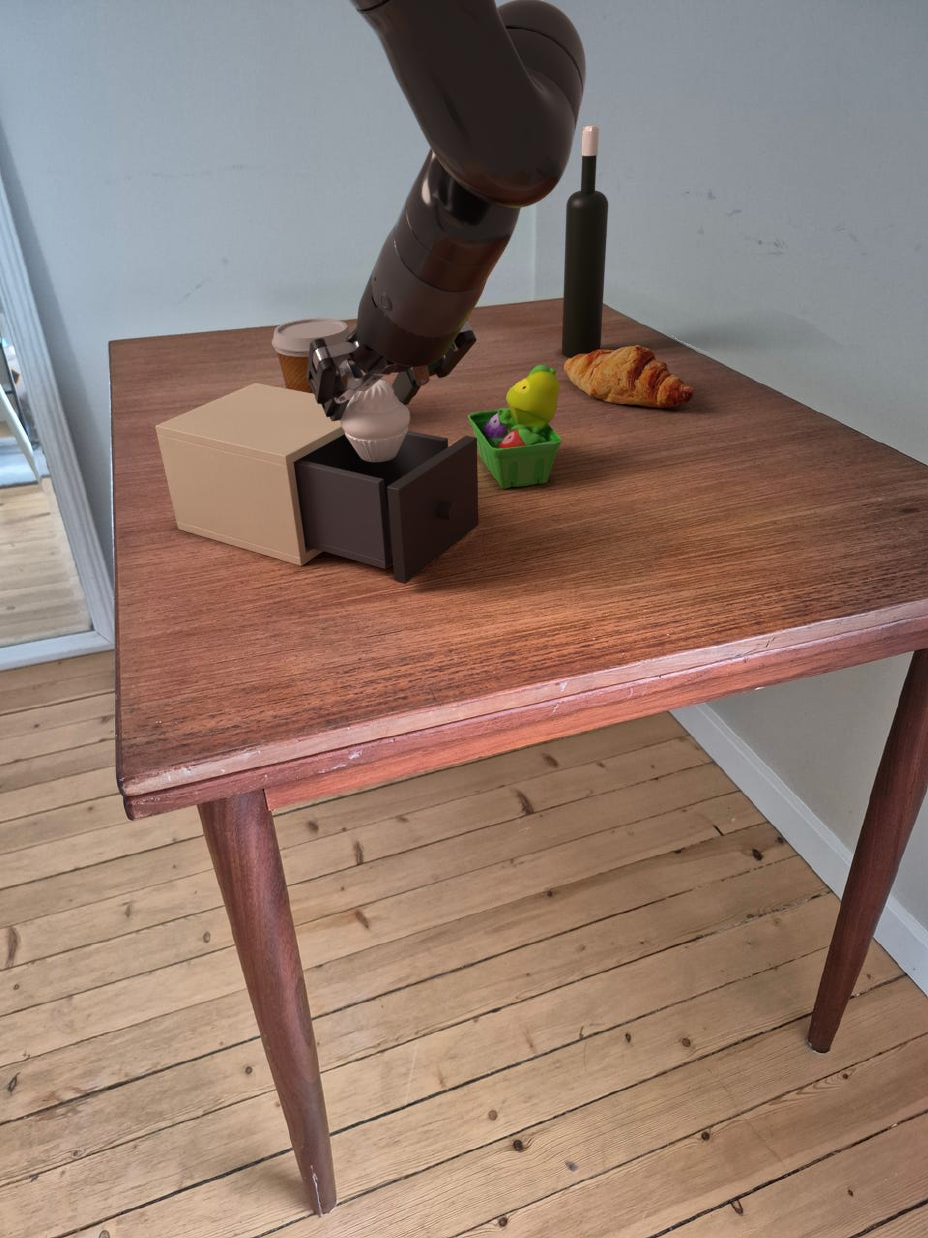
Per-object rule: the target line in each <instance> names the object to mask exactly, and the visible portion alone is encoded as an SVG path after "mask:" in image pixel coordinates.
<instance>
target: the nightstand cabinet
mask: <svg viewBox="0 0 928 1238" xmlns="http://www.w3.org/2000/svg"><path fill="white" fill-rule="evenodd" d="M348 404H349V403H348ZM154 427H155V428H154V429H155V431H156V436H157V440H158V445H159V451H160V455H161V459H162V464H163V468H164V472H165V478H166V482H167V486H168V490H169V494H170V499H171V503H172V508H173V512H174V517H175V522H176V525H177V530H180V531H183V532H186V533H190V534H193V535H196V536H200V537H203V538H207V539H209V540H213V541H217V542H220V543H223V544H227V545H230V546H233V547H236V548H240V549H243V550H246V551H250V552H253V553H257V554H260V555H262V556H267V557H270V558H273V559H276V560H278V561H279V560H280V561H282V562H287V563H288V564H289V563H290V564H293V565H296V566H300V567H302V566H304V565H305V564H307V563H308V562H310V561H311V560H312V559H314V558H316V557H317V556H318V555H320V554H322V553H323V552H324V551H321V550H318V549H314V548H311V547H307V546H305V542H304V535H303V527H302V520H301V513H300V506H299V499H298V491H297V484H296V477H295V470H294V463H293V462H295V461H296V460H298V459H300V458H302V457H304V456H306V455H307V454H309V453H311V452H313V451H315V450H317V449H318V448H320V447H322V446H324V445H326V444H328V443H329V442H331V441H333V440H335V439H337V438H339V437H340V436H342V435H344V434H345V431H344V429H343V428H342V426H341V423H340V420H338V421H333V422H332V421H331V419H330V417H326V415H325V412H324V410H323V407H322V405H321V404H318V403H317V401H316V399H315V395H314V394H312V393H306V392H301V391H296V390H291V389H287V388H286V387H280V386H273V385H270V384H263V383H259V382H254V383H252V384H249V385H247V386H245V387H243V388H240V389H237V390H235V391H233V392H230V393H228V394H226V395H223V396H221V397H219V398H216V399H214V400H212V401H209V402H207V403H205V404H203V405H200V406H198V407H196V408H193V409H192V410H189V411H186V412H184V413H182V414H178V415H177V416H175V417H172V418H170V419H168V420H165V421H163V422H161V423H158V424H155V426H154Z"/></svg>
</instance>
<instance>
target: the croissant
mask: <svg viewBox="0 0 928 1238" xmlns="http://www.w3.org/2000/svg"><path fill="white" fill-rule="evenodd" d="M563 370H564V373H565V374H566V375H567V377H568V378H569V381H570V382H571V383H572V384H573V385H574V386H576V387H577V388H578V389H579V390H581V391H582V392H584V393H585V394H586V395H588V396H589V397H590V398H595V399H597V400H602V401H604V402H607V403H610V404H616V405H617V404H618V405H630V406H632V405H633V406H634V405H638V406H642V407H649V408H661V409H663V408H669V409H670V408H675V407H678V406H680V405H682V404H687V403H689V402H690V401H691V400H692V399H693V397H694V391H695V388H693V387H692V385H687V384H684V380H682V379H681V378H680V377H678V376H677V375H675V374H673V373H671V372H670V371H669V369H668V364H667V363H666V362H663V361H660V360H657V359H656V355H655V353H654V352H653V351H652V350H651V349H650V348H648V347H644V346H641V345H639V344H636V345H629V346H621V347H620V348H618V349H613V350H612V349H611V350H610V349H600V350H596V351H593V352H591V353H589V354H579V355H576V356H574V357H573V358H570V357H568V358H567V360H566V361H565V362H564V365H563Z"/></svg>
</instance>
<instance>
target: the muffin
mask: <svg viewBox="0 0 928 1238" xmlns="http://www.w3.org/2000/svg"><path fill="white" fill-rule="evenodd" d="M410 421H411V414H410V410H409V408H408V407H407V405H404V404H402V403H401V402H400V401H399V400H398V398H397V396H395V394H394V389H393V387H392V384H391V383H389V382H388V381H387V380H384V379H380V380H379V381H377V382H376V383H375V384H374V385H373V386H372V387H371V388H369V389H368V390H367V391H365V392H364V391H357V392H356V393H355V394H354V395H353V396H352V397H351V398H350V399H349V404H348V405H347V407H346V409H345V411H344V414H343V416H342V418H341V420H340V423H341V426H342V428H343V429H344V431H345V435H346V437H347V438H348V440H349V441H350V443H351V444H352V446H353V447H354V449H355V450H356V452H357V453H358V455H359V456H360V458H361V459H363V460H366V461H369V462H383V461H388V460H391V459H393V458H394V457H396V455H397V453H398V451H399V449H400V446H401V444H402V442H403V440H404V438H405V436H406V433H407V431H409V430H408V429H409V427H408V426H409V424H410Z"/></svg>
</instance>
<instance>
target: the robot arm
mask: <svg viewBox="0 0 928 1238" xmlns="http://www.w3.org/2000/svg"><path fill="white" fill-rule="evenodd" d="M348 2H349V4H351V6H353V8H354V9H355V10H356V12H357V13H358V14H359V16H360V17H361V18H362V19H363V21H364V22H365V23H366V24H367V25H368V27H369V28H370V29H371V30H372V32H373V33H374V34H375V36H376V38H377V40H378V41H379V44H380V46H381V49H382V51H383V52H384V55H385V57H386V60H387V62H388V64H389V66H390V69H391V72H392V74H393V76H394V78H395V80H396V82H397V84H398V86H399V88H400V90H401V92H402V94H403V97H404V98H405V100H406V103H407V104H408V106H409V108H410V111H411V112H412V114H413V117H414V119H415V120H416V122H417V125H418V127H419V129H420V131H421V132H422V135H423V137H424V138H425V140H426V142H427V144H428V145H429V147H430V148H429V150H428V153H427V155H426V157H425V159H424V161H423V164H422V165H421V168H420V170H419V171H418V173H417V175H416V177H415V179H414V180H413V183H412V184H411V187H410V189H409V191H408V192H407V193H408V194H407V196H406V198H405V201H404V203H403V205H402V208H401V211H400V212H399V216H398V218H397V220H396V222H395V224H394V225H393V227H392V229H391V230H390V231H389V233H388V235H387V236H386V238H385V240H384V242H383V244H382V246H381V249H380V251H379V253H378V256H377V258H376V261H375V263H374V266H373V269H372V271H371V273H370V275H369V278H368V281H367V283H366V286H365V287H364V289H363V293H362V296H361V298H360V300H359V305H358V309H357V319H356V326H355V328H354V329H353V330H351V332H349V333H350V334H349V335H348V336H347V337H346V340H345V342H344V343H340V344H336V345H332V346H327V344H326V342H325V340H324V339H322V338H320V339H316V340H314V341H312V342H311V344H310V349H309V357H308V365H307V373H306V377H307V380H308V382H309V383H310V385H311V388H312V390H313V393H314V395H315V399H316V401H317V403H318V404H321V405H322V407H323V410H324V412H325V415H326V417H330V419H331V421H332V422H333V421H338V420H341V418H342V416H343V414H344V411H345V409H346V407H347V405H348V403H349V401H350V399H352V397H353V395H354V394H355V393H356V392H357V391H364V392H365V391H367V390H368V389H369V388H371V387H372V386H373V385H374V384H375V383H376V382H377V381H379V380H382V378H383V377H384V376H390V375H391V374H397V375H396V377H395V378H394V380H393V382H392V384H391V386H392V387H393V389H394V395H395V396H397V398H398V400H399V401H400V402H401V403H402V404H404V405H405V406H408V405H410V403H411V401H412V399H413V398H414V397H416V395H418V393H419V391H420V389H421V387H422V386H425V385H427V384H428V383H429V382H430V381H431V379H430V378H431V377H433V376H436V377H437V379H443V378H447V377H448V376H449V375H450V374H451V373H452V371H453V370H454V369H455V368H456V366H457V365H458V364H459V363H460V362H461V361H462V359H463V358H464V357H465V356H466V354H467V353H468V352H469V351H470V350H471V348H472V347H473V346H474V345H475V344H476V342H477V338H476V335H475V332H474V330H473V328H472V326H471V323H470V322H469V321H470V320H469V317H470V316H471V314H472V312H473V311H474V310H475V308H476V306H477V304H478V302H479V300H480V298H481V297H482V294H483V292H484V290H485V287H486V284H487V281H488V279H489V277H490V275H491V274H492V272H493V271H494V268H495V267H496V266H497V264H498V262H499V260H500V259H501V257H502V255H503V254H504V252H505V250H506V248H507V247H508V244H509V243H510V241H511V239H512V237H513V234H514V231H515V229H516V228H517V227H516V226H517V223H518V221H519V217H520V213H521V209H522V208H526V207H529V206H532V205H535V204H536V203H538V202H540V201H542V200H543V199H545V198H546V197H547V196H549V195H550V194H551V193H552V191H554V189H556V187H557V185H558V184H559V182H560V181H561V179H562V178H563V176H564V173H565V171H566V169H567V167H568V163H569V161H570V157H571V153H572V148H573V145H574V140H575V136H576V135H575V134H576V129H577V124H578V119H579V115H580V109H581V105H582V102H583V96H584V92H585V86H586V81H587V80H586V79H587V61H586V54H585V48H584V45H583V42H582V39H581V37H580V34H579V32H578V30H577V27H576V26H575V25H574V23H573V22H572V21H571V19H570V17H568V16H567V15H566V13H565V12H564V11H562V10H561V9H560V8H558V7H557V6H555V5H554V4H552V3H550V2H548V1H544V0H511V1H507V2H505V3H503V4H501V5H499V6H497V4H496V0H348ZM344 374H345V375H346V377H347V380H348V382H347V384H346V385H345V384H344V381H343V379H342V376H343V375H344Z"/></svg>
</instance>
